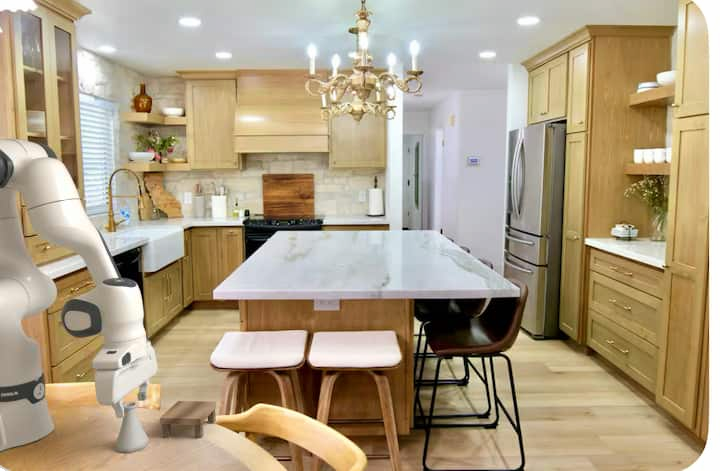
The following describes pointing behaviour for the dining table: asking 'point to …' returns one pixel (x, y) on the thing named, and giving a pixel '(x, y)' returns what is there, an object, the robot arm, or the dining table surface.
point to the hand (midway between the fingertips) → (132, 407)
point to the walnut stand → (188, 416)
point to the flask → (131, 431)
